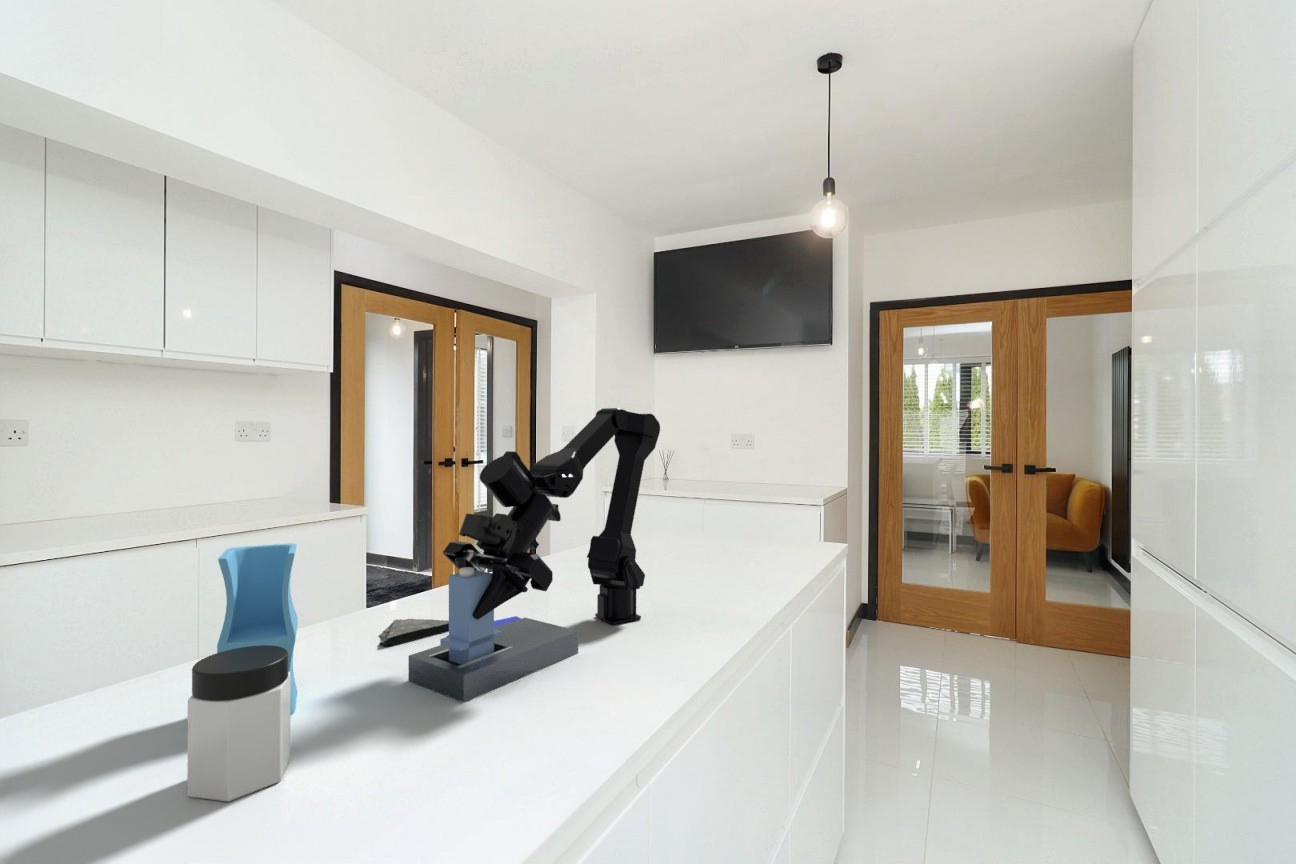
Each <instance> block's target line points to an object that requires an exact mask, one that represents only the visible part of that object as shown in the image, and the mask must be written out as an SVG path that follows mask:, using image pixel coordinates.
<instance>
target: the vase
mask: <svg viewBox="0 0 1296 864" xmlns="http://www.w3.org/2000/svg"><path fill="white" fill-rule="evenodd" d="M297 547H298V545H297V544H296V543H294V542H293V543H292V542H291V543H277V544H276V543H275V544H274V543H273V544H262V545H261V544H260V545H259V544H258V545H246V546H235V547H230V548H227V549H225V550H224V551H223V552H222V553H221V555H220V556H219V557H218V559H217V561H218V564H219V568H220V570H221V571H220V572H221V573H222V574H221V575H222V578H223V581H224V587H225V588H224V589H225V594H226V606H225V613H224V614H225V615H224V620H223V624H222V628H221V632H220V635H219V638H218V641H217V645H216V649H217V650H216V653H219V652H223V651H227V650H231V649H236V648H241V647H249V646H260V645H271V646H279V647H282V648H285V649H286V650H287V651H288V672H290V673H291V698H290V716H291V715H293V714H295V711H296V709H297V697H298V689H297V688H298V687H297V685H296V681H295V680H296V678H295V673H294V672H295V671H294V648H295V645H296V639H297V638H296V637H297V631H298V627H299V626H298V625H299V624H298V623H299V622H298V620H299V618H298V615H297V612H296V609H295V606H294V603H293V599H292V594H291V580H292V579H291V577H292V570H293V565H294V561H295V560H294V559H295V554H296V551H297Z"/></svg>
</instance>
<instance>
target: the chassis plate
mask: <svg viewBox="0 0 1296 864" xmlns="http://www.w3.org/2000/svg"><path fill="white" fill-rule="evenodd" d="M521 618H522V617H521ZM494 629H495V630H499V631H502V637H499V638H497V639H494V653H492V654H489V655H486V656H483V657H481V658H478V659H475V660H473V661H470V662H467V663H465V664H462V665H461V664H458V663H455V662H452V661H449V647H446V646H443V645H440V644H439V645H437V646H434V647H431V648H428V649H425V650H422V651H419V652H415V653H413V654H410V655H408V682H411V683H413V684H416V685H419V686H421V687H424V688H425V689H429V690H431V691H434V692H436V693H439V694H441V695H444V696H446V697H449V698H451V699H453V700H457V701H459V702H461V703H465V702H467V701H470V700H472V699H475V698H478V697H479V696H481V695H484V694H486V693H489V692H491V691H493V690H495V689H497V688H500V687H503V686H505V685H507V684H510V683H512V682H514V681H517V680H519V679H521V678H523V677H525V676H527V675H531V674H533V673H535V672H537V671H540V670H542V669H545V668H546V667H549V666H551V665H554V664H556V663H557V662H560V661H563V660H565V659H567V658H569V657H572V656H575V655H577V654H578V653H579V630H576V629H573V628H569V627H564V626H561V625H558V624H552V623H548V622H546V621H545V622H544V621H541V620H536V619H533V618H529V617H523V618H522V619H519V620H516V621H513V622H510V623H507V624H504V625H501V626H497V627H494Z"/></svg>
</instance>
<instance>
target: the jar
mask: <svg viewBox="0 0 1296 864" xmlns="http://www.w3.org/2000/svg"><path fill="white" fill-rule="evenodd" d="M191 694H192V695H191V696H189V698H188V699H187V771H186V772H187V774H186V775H187V777H186V779H187V787H186V788H187V797H189V798H194V799H195V798H196V799H204V800H205V799H206V800H212V801H219V802H220V801H221V802H229V803H230V802H231V801H234V800H237V799H239V798H242V797H245V796H246V795H250V794H252V793H255V792H257V791H260V790H263V789H265V788H268V787H270V786H272V785H275V784H277V783H280V782H281V781H282V779H283V778H284V774H285V772H286V770H287V766H289V763H290V760H291V715H290V698H291V673H290V672H288V651H287V650H286V649H285V648H282V647H279V646H271V645H260V646H249V647H241V648H236V649H231V650H227V651H223V652H219V653H217V652H216V653H213V654H211V655H209V656H206V657H204V658H202V659H200V660H199V661H197V662H196V663H195V664H194V665H193V666H192V669H191Z"/></svg>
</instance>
